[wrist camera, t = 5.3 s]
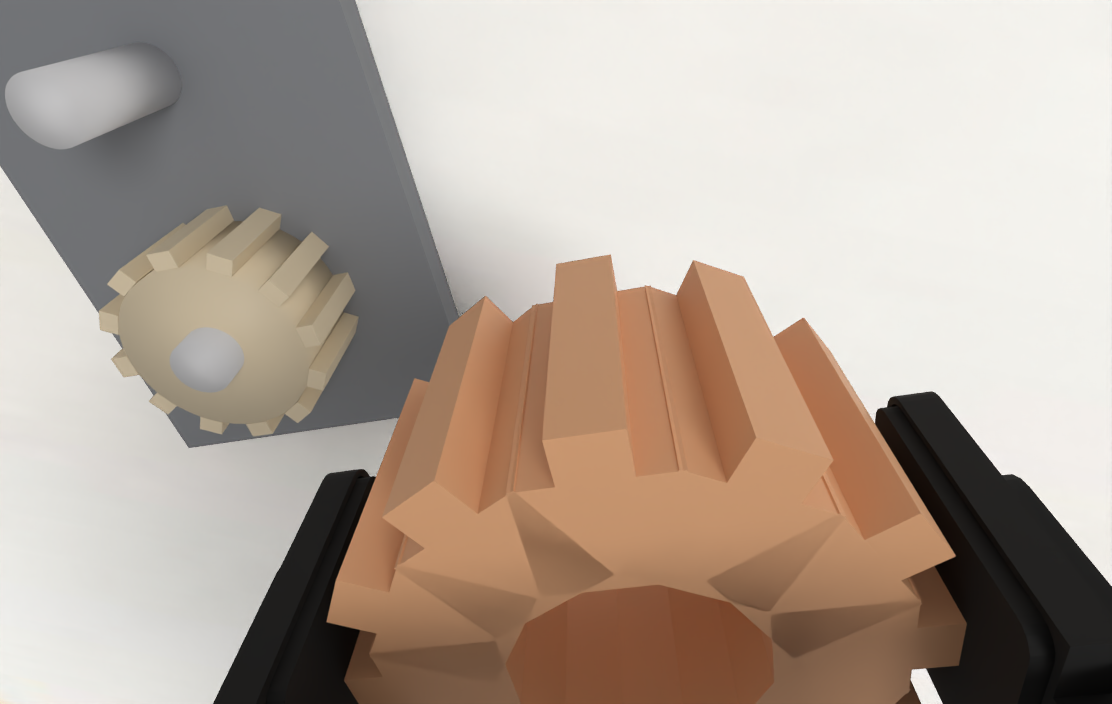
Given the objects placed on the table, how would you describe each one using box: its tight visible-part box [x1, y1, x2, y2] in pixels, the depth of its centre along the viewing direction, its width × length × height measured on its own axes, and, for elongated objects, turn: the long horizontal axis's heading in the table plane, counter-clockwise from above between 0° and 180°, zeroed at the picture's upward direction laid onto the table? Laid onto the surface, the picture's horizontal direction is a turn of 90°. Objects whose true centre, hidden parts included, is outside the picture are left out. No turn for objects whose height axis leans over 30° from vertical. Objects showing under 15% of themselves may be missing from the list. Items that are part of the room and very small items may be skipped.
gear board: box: [0, 0, 459, 448], centre depth 22 cm, size 22×14×6 cm, turn 12°
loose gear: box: [327, 255, 967, 704], centre depth 10 cm, size 8×8×4 cm
